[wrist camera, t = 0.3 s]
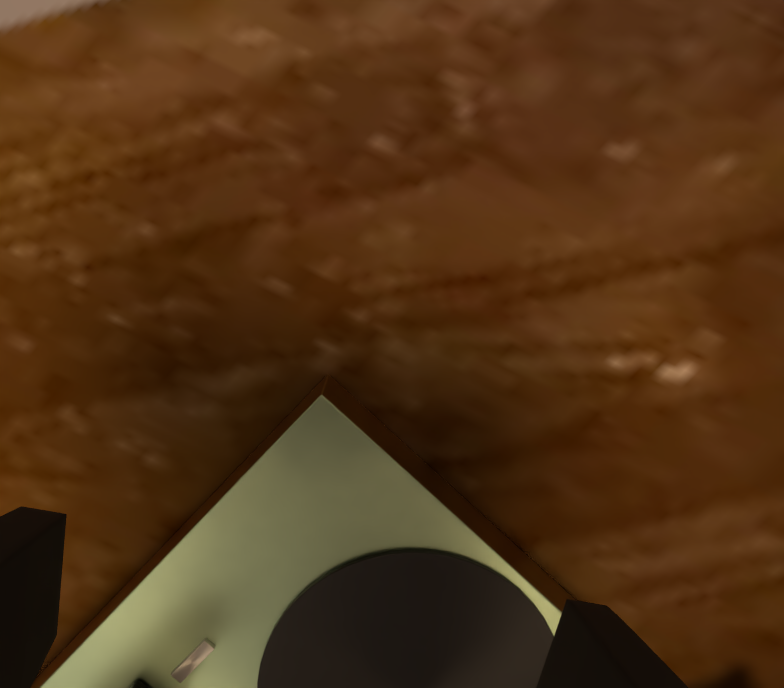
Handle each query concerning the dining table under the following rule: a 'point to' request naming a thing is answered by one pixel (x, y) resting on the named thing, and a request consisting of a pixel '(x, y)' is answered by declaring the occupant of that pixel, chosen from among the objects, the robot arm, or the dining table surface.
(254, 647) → the hob
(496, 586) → the burner
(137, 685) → the black block
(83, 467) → the dining table surface
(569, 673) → the robot arm
